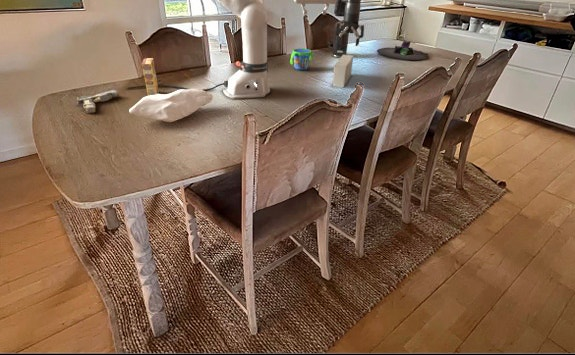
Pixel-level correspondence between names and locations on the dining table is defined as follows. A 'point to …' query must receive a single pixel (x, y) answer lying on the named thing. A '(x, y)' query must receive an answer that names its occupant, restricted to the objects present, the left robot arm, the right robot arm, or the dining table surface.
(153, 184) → the dining table surface
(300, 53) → the snack cup
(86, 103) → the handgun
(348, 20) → the right robot arm
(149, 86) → the candy box
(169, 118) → the crumpled cloth
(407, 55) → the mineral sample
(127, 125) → the dining table surface
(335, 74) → the box
